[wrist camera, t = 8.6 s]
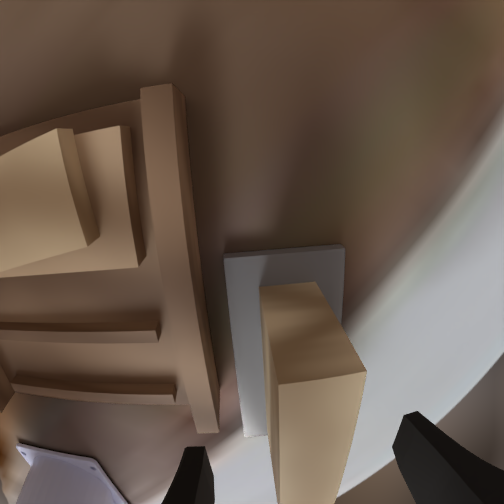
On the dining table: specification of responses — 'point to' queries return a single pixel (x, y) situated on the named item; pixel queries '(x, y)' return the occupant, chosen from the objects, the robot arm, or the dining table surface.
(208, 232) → the dining table surface
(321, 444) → the tall block
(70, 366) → the rack
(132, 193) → the offcut board lower
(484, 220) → the dining table surface
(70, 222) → the offcut board upper
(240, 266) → the slate coaster
